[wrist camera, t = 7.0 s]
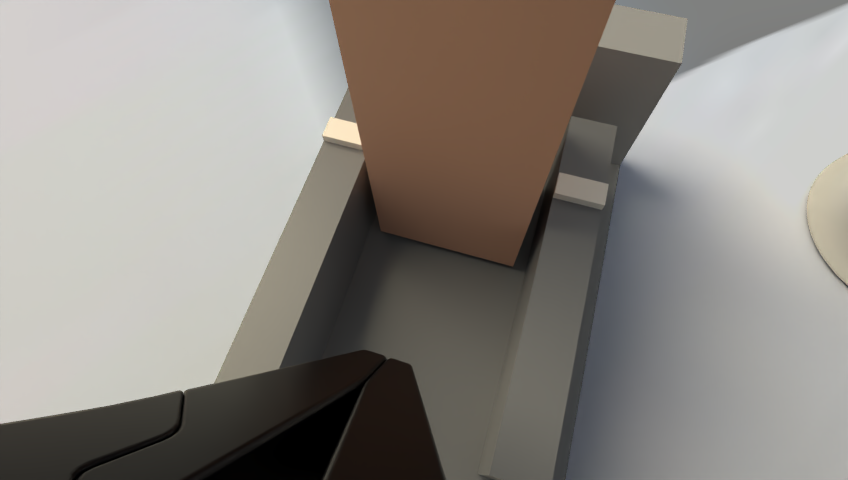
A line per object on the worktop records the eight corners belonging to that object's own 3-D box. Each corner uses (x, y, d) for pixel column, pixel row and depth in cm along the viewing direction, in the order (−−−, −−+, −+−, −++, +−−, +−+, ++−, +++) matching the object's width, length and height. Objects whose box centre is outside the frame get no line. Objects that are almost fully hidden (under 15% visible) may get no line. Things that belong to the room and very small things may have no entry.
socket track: (545, 518, 14) (618, 550, 8) (238, 416, 15) (125, 385, 10) (612, 153, 18) (687, 18, 13) (373, 97, 20) (350, -48, 14)
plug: (513, 266, 15) (688, -189, 5) (380, 231, 15) (273, -249, 5) (534, 179, 16) (713, -341, 6) (410, 149, 16) (372, -376, 6)
